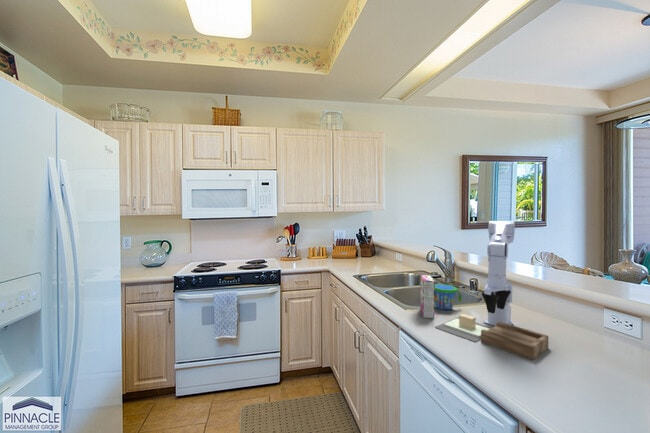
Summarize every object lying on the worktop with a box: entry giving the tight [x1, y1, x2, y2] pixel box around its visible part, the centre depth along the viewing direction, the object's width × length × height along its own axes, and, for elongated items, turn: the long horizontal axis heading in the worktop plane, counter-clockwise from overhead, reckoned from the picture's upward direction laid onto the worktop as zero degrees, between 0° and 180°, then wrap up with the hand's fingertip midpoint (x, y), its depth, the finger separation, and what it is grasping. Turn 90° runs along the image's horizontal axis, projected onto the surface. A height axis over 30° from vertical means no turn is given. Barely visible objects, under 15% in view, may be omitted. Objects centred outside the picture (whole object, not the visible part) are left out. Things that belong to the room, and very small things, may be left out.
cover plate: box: [444, 313, 489, 338], centre depth 118 cm, size 10×14×5 cm
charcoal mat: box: [434, 316, 493, 343], centre depth 118 cm, size 18×16×1 cm
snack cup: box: [434, 283, 463, 311], centre depth 143 cm, size 16×10×10 cm
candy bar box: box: [419, 274, 436, 319], centre depth 134 cm, size 11×5×16 cm, turn 168°
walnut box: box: [480, 321, 549, 361], centre depth 105 cm, size 14×16×4 cm
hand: (495, 310), depth 112 cm, fingers open, 7 cm apart
